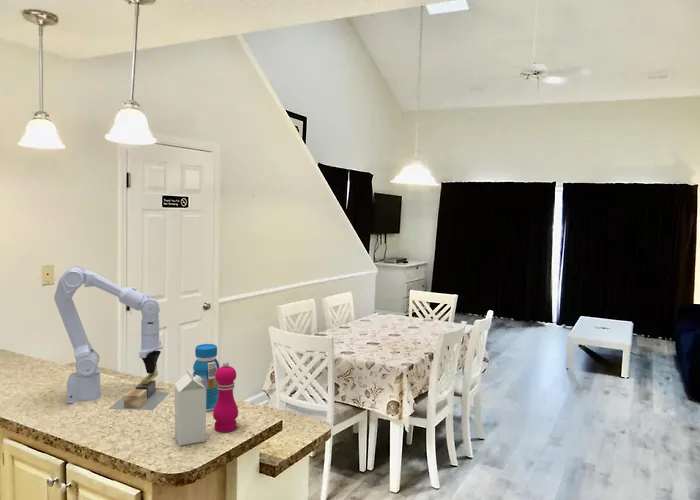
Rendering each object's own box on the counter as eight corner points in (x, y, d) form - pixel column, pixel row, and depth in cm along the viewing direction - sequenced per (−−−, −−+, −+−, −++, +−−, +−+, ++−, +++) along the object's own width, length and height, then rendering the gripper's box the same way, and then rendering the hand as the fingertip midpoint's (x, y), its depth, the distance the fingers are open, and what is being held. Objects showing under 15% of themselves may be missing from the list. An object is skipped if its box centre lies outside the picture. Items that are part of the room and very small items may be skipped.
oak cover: (123, 408, 170) (123, 395, 170) (131, 401, 176) (131, 389, 176) (139, 408, 170) (139, 395, 170) (147, 401, 176) (146, 389, 175)
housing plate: (108, 412, 169) (107, 396, 169) (129, 394, 185) (129, 379, 184) (152, 413, 169) (152, 397, 168) (170, 395, 185) (170, 380, 184)
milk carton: (179, 446, 146) (179, 377, 145) (174, 436, 152) (174, 370, 151) (206, 441, 149) (206, 374, 148) (200, 432, 156) (200, 367, 154)
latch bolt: (141, 384, 180) (141, 371, 179) (152, 374, 190) (152, 362, 189) (147, 384, 180) (147, 371, 179) (158, 374, 190) (158, 363, 189)
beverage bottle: (190, 412, 170) (190, 349, 169) (195, 402, 179) (195, 342, 177) (217, 411, 171) (217, 349, 169) (221, 402, 179) (221, 342, 178)
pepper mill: (225, 435, 154) (225, 366, 152) (207, 429, 158) (207, 361, 156) (243, 426, 160) (243, 360, 158) (225, 421, 164) (225, 356, 162)
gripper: (154, 339, 177) (154, 379, 178) (169, 329, 191) (169, 366, 192) (132, 338, 177) (133, 379, 178) (149, 328, 191) (149, 366, 193)
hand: (150, 372), depth 185 cm, fingers closed
